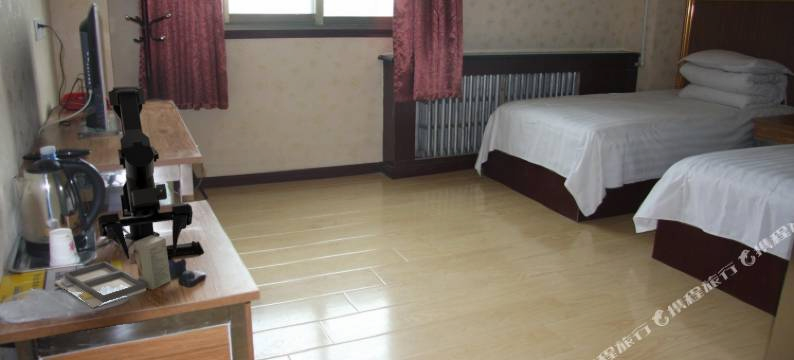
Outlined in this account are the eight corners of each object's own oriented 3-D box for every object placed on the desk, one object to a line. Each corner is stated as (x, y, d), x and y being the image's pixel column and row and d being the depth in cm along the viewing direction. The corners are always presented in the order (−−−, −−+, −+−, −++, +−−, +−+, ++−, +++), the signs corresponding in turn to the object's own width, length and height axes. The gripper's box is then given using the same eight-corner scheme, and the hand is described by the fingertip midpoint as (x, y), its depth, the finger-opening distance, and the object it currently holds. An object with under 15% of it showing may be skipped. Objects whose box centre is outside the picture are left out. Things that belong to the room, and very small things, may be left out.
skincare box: (157, 277, 138) (153, 234, 135) (171, 281, 136) (167, 237, 133) (137, 286, 133) (132, 241, 131) (151, 290, 131) (147, 245, 129)
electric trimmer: (135, 259, 149) (133, 246, 149) (202, 249, 155) (201, 237, 154) (135, 264, 146) (133, 252, 145) (204, 254, 152) (203, 242, 151)
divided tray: (55, 283, 134) (54, 275, 134) (106, 268, 142) (105, 261, 142) (93, 308, 123) (92, 300, 123) (146, 290, 131) (145, 282, 131)
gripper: (92, 176, 128) (100, 244, 121) (187, 167, 136) (200, 230, 129) (96, 203, 137) (104, 268, 130) (185, 193, 145) (197, 254, 138)
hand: (152, 254), depth 132 cm, fingers open, 9 cm apart
